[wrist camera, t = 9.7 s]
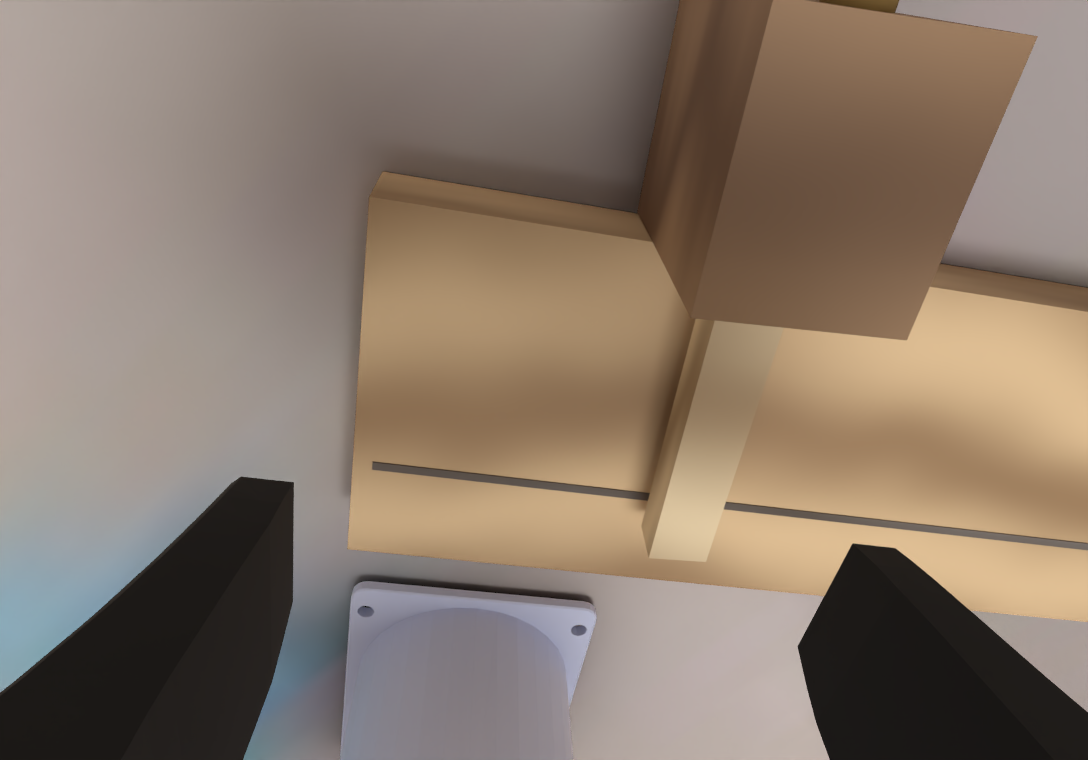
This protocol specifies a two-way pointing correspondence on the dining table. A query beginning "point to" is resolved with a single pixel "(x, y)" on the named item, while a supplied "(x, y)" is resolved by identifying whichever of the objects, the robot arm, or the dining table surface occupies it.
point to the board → (647, 399)
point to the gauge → (801, 201)
